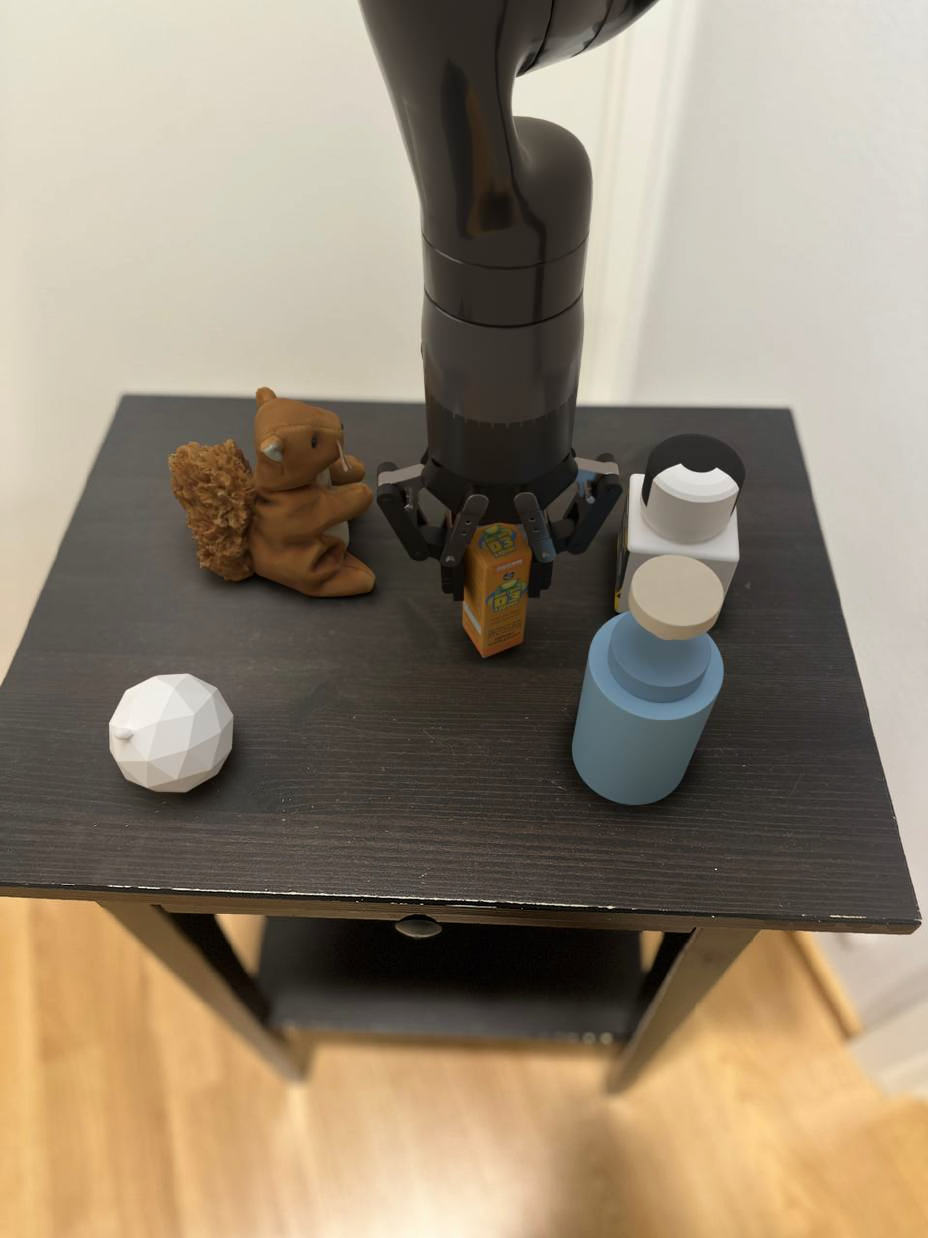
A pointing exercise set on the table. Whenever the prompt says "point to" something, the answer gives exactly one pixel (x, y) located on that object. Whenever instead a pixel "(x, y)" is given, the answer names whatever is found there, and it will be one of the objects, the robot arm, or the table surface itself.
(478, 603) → the supplement box
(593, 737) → the pump bottle
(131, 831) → the table surface
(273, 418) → the stuffed squirrel
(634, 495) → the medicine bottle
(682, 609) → the disc
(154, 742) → the ornament
